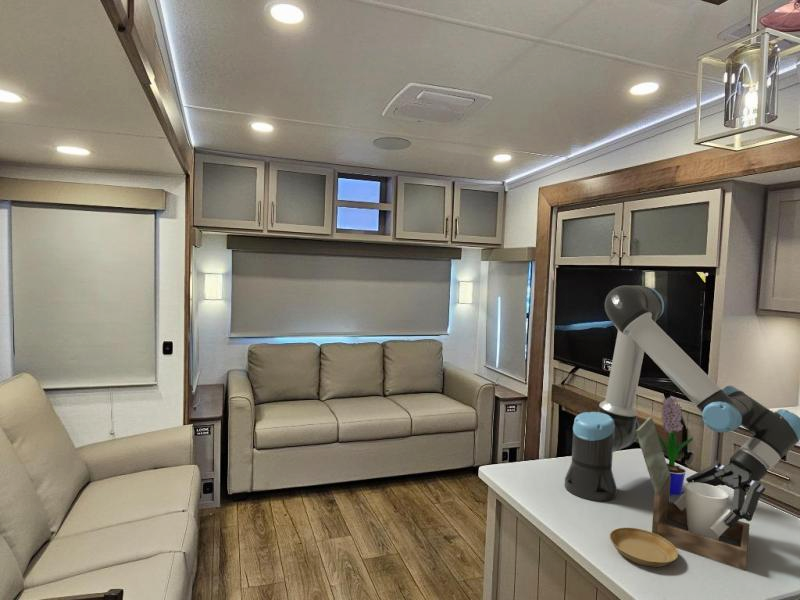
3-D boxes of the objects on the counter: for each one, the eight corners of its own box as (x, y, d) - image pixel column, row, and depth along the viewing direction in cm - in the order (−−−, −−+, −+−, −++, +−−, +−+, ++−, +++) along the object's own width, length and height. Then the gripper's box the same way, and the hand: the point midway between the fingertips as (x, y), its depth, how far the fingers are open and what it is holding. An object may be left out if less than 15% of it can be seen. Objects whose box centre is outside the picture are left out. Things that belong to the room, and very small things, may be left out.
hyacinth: (695, 499, 145) (702, 402, 144) (659, 494, 147) (665, 399, 146) (684, 486, 154) (691, 395, 152) (650, 482, 156) (656, 392, 154)
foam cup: (710, 553, 116) (714, 501, 115) (673, 534, 124) (677, 485, 123) (732, 544, 120) (736, 494, 119) (695, 526, 128) (698, 479, 128)
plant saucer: (692, 567, 110) (693, 557, 110) (641, 577, 106) (641, 565, 106) (643, 534, 124) (643, 524, 124) (595, 541, 120) (596, 531, 120)
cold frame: (629, 531, 124) (635, 429, 123) (642, 509, 137) (648, 416, 136) (745, 570, 109) (753, 454, 108) (748, 541, 122) (756, 437, 121)
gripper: (807, 491, 111) (743, 556, 110) (724, 452, 135) (671, 506, 134) (788, 469, 110) (723, 535, 109) (709, 434, 134) (655, 487, 133)
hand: (695, 519), depth 121 cm, fingers open, 12 cm apart
